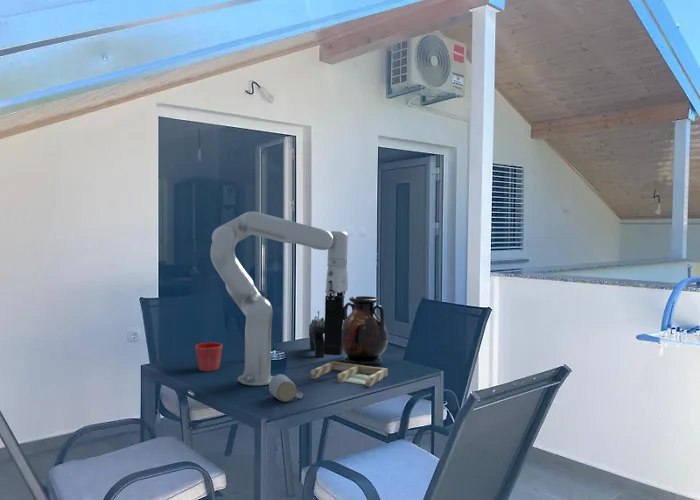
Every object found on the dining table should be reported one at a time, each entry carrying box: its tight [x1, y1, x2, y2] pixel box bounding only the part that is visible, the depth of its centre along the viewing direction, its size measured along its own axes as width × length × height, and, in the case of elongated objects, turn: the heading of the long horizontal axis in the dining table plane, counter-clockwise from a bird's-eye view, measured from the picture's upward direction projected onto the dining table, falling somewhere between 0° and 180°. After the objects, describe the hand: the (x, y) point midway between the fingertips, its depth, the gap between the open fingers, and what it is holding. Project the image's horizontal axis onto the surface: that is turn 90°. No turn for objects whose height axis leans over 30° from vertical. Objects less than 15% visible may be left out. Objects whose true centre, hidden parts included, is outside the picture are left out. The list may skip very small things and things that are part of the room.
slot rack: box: [310, 361, 389, 388], centre depth 221 cm, size 18×24×3 cm
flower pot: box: [194, 342, 223, 372], centre depth 229 cm, size 11×11×10 cm
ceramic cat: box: [308, 310, 325, 358], centre depth 261 cm, size 20×6×20 cm, turn 13°
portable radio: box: [323, 294, 346, 356], centre depth 222 cm, size 8×6×25 cm
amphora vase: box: [342, 295, 389, 367], centre depth 245 cm, size 22×22×28 cm
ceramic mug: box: [268, 373, 304, 403], centre depth 191 cm, size 11×8×8 cm
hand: (335, 308), depth 221 cm, fingers closed on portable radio, 6 cm apart
